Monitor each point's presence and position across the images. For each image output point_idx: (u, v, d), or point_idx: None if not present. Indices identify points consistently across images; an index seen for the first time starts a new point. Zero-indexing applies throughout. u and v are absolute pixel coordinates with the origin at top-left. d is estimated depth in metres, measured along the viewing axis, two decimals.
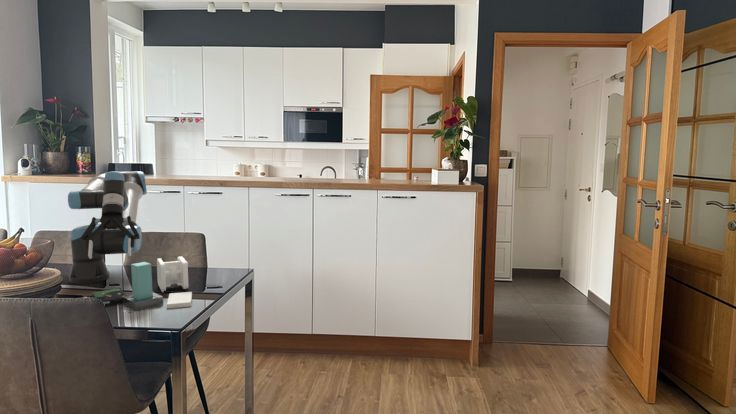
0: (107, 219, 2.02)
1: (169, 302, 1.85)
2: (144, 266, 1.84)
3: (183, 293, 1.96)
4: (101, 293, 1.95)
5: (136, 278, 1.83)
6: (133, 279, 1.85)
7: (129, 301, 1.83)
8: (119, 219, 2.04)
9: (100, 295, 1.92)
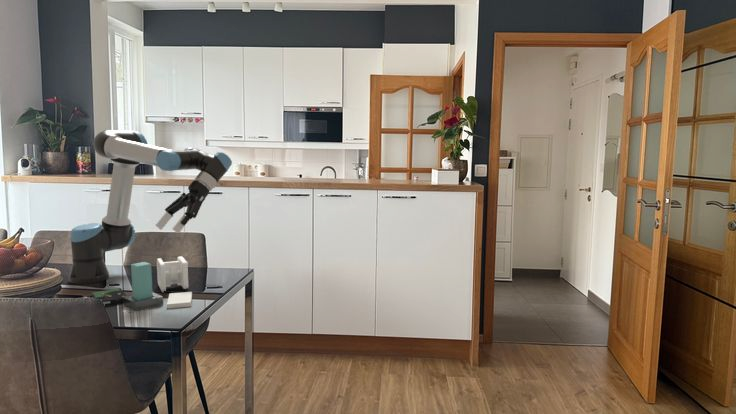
0: None
1: (169, 302, 1.85)
2: (144, 266, 1.84)
3: (183, 293, 1.96)
4: (101, 293, 1.95)
5: (136, 278, 1.83)
6: (133, 279, 1.85)
7: (129, 301, 1.83)
8: None
9: (100, 295, 1.92)
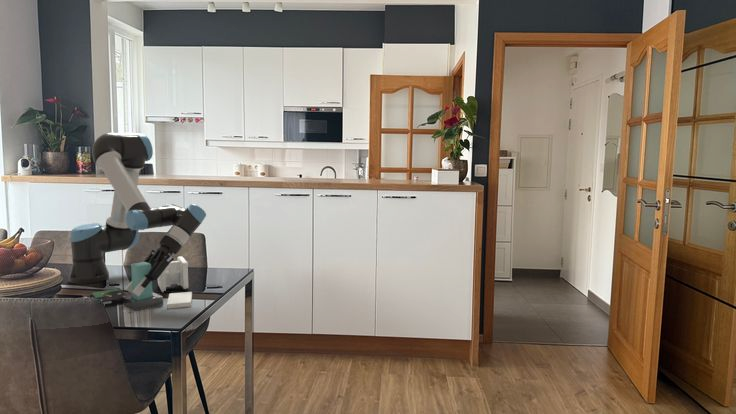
0: None
1: (169, 302, 1.85)
2: (144, 266, 1.84)
3: (183, 293, 1.96)
4: (100, 293, 1.94)
5: (136, 278, 1.83)
6: (133, 279, 1.85)
7: (129, 301, 1.83)
8: None
9: (100, 295, 1.92)
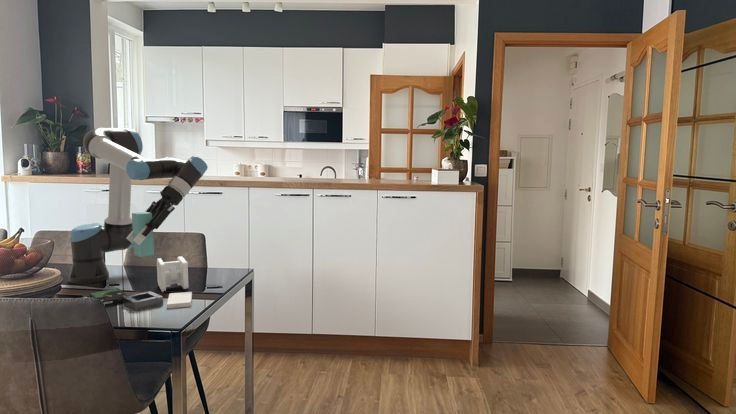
0: None
1: (169, 302, 1.85)
2: (145, 215, 1.82)
3: (183, 293, 1.96)
4: (100, 293, 1.94)
5: (137, 227, 1.82)
6: (134, 228, 1.83)
7: (129, 301, 1.83)
8: None
9: (100, 295, 1.92)
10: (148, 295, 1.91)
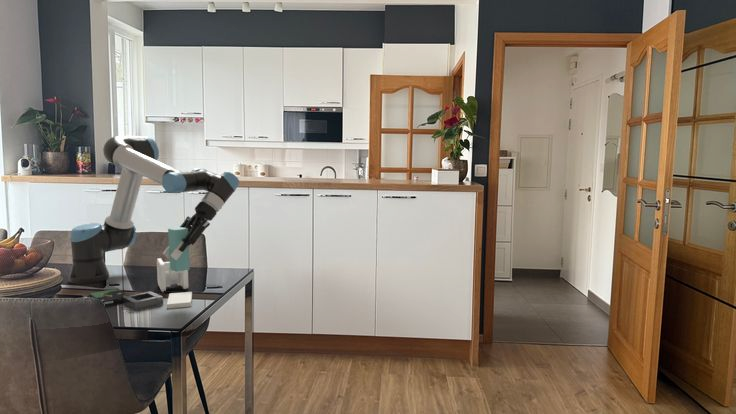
0: None
1: (169, 302, 1.85)
2: (181, 230, 1.86)
3: (183, 293, 1.96)
4: (100, 294, 1.94)
5: (173, 243, 1.85)
6: (170, 243, 1.87)
7: (129, 301, 1.83)
8: None
9: (100, 295, 1.92)
10: (148, 295, 1.91)
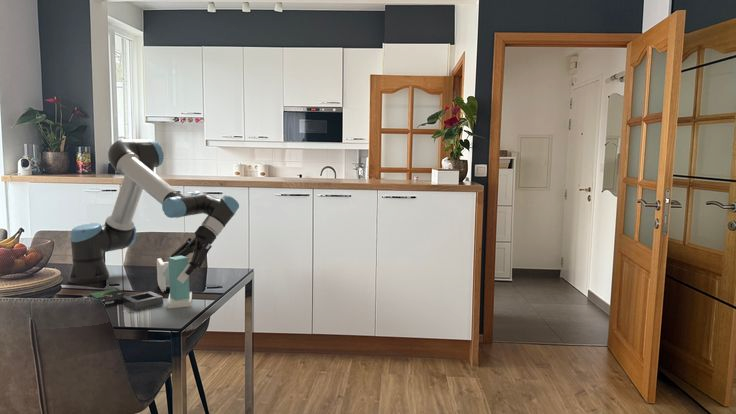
0: None
1: (169, 302, 1.85)
2: (181, 259, 1.88)
3: None
4: (100, 294, 1.94)
5: (173, 272, 1.87)
6: (170, 272, 1.89)
7: (129, 301, 1.83)
8: None
9: (100, 295, 1.92)
10: (148, 295, 1.91)
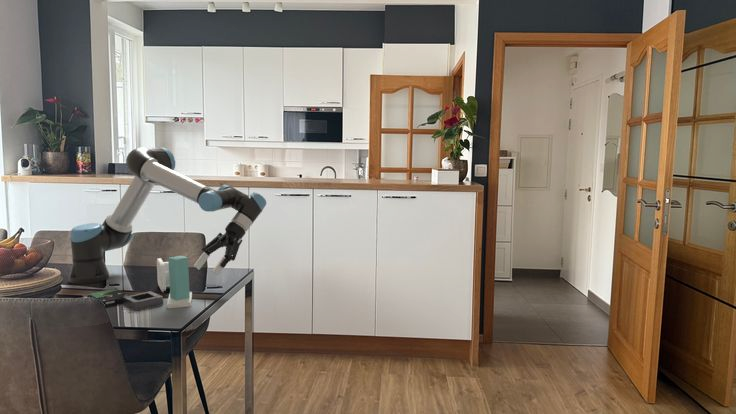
0: None
1: (169, 302, 1.85)
2: (181, 259, 1.88)
3: None
4: (99, 294, 1.94)
5: (173, 272, 1.87)
6: (170, 272, 1.89)
7: (129, 301, 1.83)
8: None
9: (100, 296, 1.91)
10: (148, 295, 1.91)
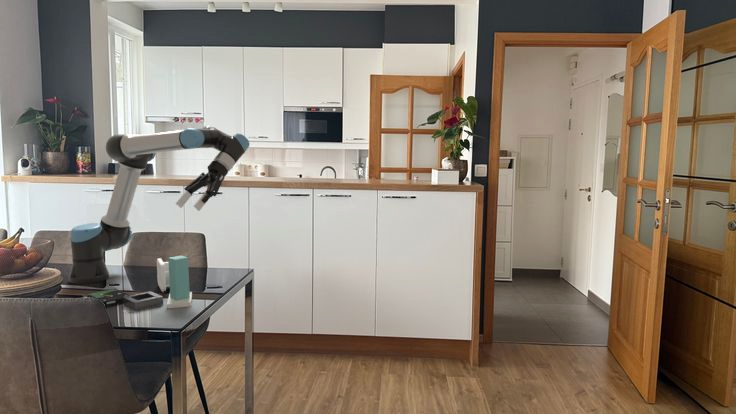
0: None
1: (169, 302, 1.85)
2: (181, 259, 1.88)
3: None
4: (99, 294, 1.94)
5: (173, 272, 1.87)
6: (170, 272, 1.89)
7: (129, 301, 1.83)
8: None
9: (100, 296, 1.91)
10: (148, 295, 1.91)
